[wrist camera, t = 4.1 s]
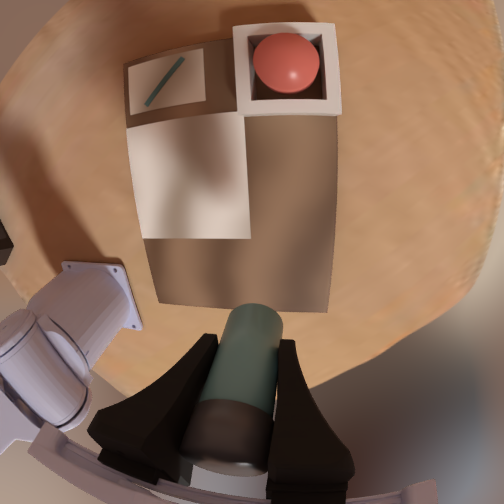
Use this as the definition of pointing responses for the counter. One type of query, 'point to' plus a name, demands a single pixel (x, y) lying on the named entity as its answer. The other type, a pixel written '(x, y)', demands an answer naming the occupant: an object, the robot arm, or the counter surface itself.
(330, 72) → the button housing
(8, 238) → the black spring clamp
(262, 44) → the button
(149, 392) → the robot arm
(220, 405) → the marker
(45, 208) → the counter surface
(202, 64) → the drawing board
